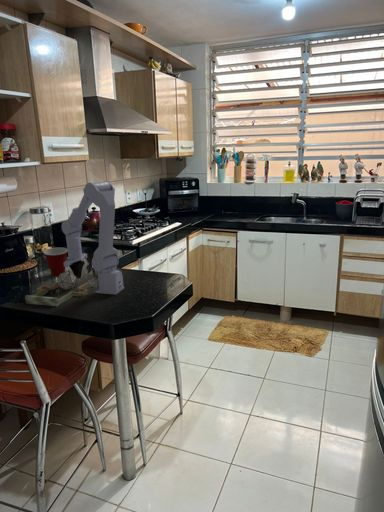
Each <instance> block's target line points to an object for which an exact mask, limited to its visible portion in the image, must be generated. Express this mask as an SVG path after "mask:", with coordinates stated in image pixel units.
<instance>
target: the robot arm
mask: <svg viewBox="0 0 384 512" xmlns="http://www.w3.org/2000/svg"><path fill="white" fill-rule="evenodd" d="M82 190H83V196H82V198H81V200H80V202H79V205H78V206H77V207H74V208H72V210H71V211H72V212H71V214H70V216H69V217H68V218H67V219H66V220H63V221H62V223H61V231H62V233H63V234H64V235H65V240H66V241H65V242H66V249H67V250H68V251H67V254H68V257H66V261H65V262H64V267H65V268H70V270H71V273H72V274H73V275H75V276H76V277H77V276H79V277H78V278H77V280H78V279H81V278H82V273H83V267H84V266H85V261H84V260H83V259H87V258H88V253H83V251H82V249H83V248H82V242H81V241H82V240H81V236H82V230H83V223H84V221H85V220H86V218H87V216H88V214H87V211H88V209H90V207H91V205H92V204H93V205H94V206H96V207H98V208H99V226H98V227H99V229H98V231H99V232H98V247H97V248H96V249H95V250H94V252H93V257H92V259H91V267H92V268H93V270H95V272H97V279H98V289H97V290H96V291H94V293H95V294H102V295H103V294H104V295H105V294H106V295H117V294H118V293H120V292H121V291H123V290H124V289H125V286H124V278H123V273H122V271H121V270H118V268H117V266H118V265H119V262H120V258H119V255H118V253H119V251H118V249H116V248H115V247H114V234H115V233H114V232H115V214H116V203H115V191H116V188H115V187H114V185H113V184H112V182H110V181H109V180H105V181H96V182H95V181H94V182H87V183H86V184H85V186H84V187H83V189H82Z"/></svg>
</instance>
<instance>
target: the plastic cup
mask: <svg viewBox="0 0 384 512" xmlns="http://www.w3.org/2000/svg"><path fill="white" fill-rule="evenodd" d="M43 254H44V256H45V259H46V261H47V265H48V267H49V270H50V273H51V276H53V277H59V274H58V273H64V272H66V267H64V262H65V261H66V260H67V254H68V249H67V247H51V248H46V249H45V250H43Z"/></svg>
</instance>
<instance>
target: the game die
mask: <svg viewBox="0 0 384 512" xmlns="http://www.w3.org/2000/svg"><path fill="white" fill-rule="evenodd" d="M58 274H59V276H57V277H58V278H57V282H55V283H56V284H58V285H59V287H60V288H61V289H63V292H64V293H65V292H66V291H67V290H69V289H72V288H74V289H76V286H75V285H76V281H77V280H78V277H79V276H77V277H76V276H75V275H74V274H73V272H72V271H70V269H68V271H65V272H64V273H58Z"/></svg>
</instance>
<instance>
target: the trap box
mask: <svg viewBox="0 0 384 512" xmlns="http://www.w3.org/2000/svg"><path fill="white" fill-rule="evenodd" d="M56 283H57V282H55V283H53V284H51V285H41V286H39V287H37V288H35V292H36V293H33V294H32V295H29V294H26V295H24V298H25V304H29V305H40V306H50V307H58V306H60V305H61V304H63V303H65V302H66V301H68V300H70V299H71V298H72V297H84V296H85V295H87V294H89V293H90V292H89V289H88V288H90V283H89V282H85V283H83V284H81V285H79V286H77V287H76V288H77V289H76V290H77V291H73V290H72V291H71V290H70V291H69V292H68V293H66V294H64V295H62V296H60V297H59V298H58V297H52V296H51V297H50V296H44V295H46V294H48V292H49V291H51V290H52V291H54V290H55V289H57V288H59V287H60V286H59V285H58V284H56Z"/></svg>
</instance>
